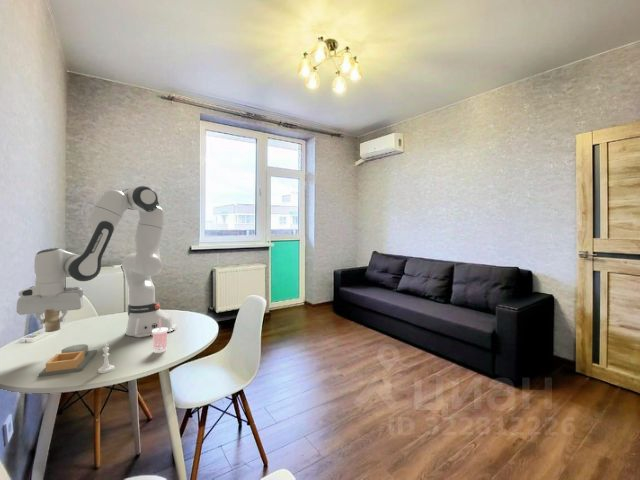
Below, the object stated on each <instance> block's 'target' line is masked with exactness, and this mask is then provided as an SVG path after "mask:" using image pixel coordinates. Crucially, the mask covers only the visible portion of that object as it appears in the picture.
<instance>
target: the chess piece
mask: <svg viewBox="0 0 640 480" xmlns="http://www.w3.org/2000/svg"><path fill="white" fill-rule="evenodd" d="M102 346H103V348H102V352H103V354H102V357H104V359H103V364H102V366H101V367H99V368H98V369H97V373H99V374H107V373H110V372H112V371H113V370H115V365H113V364H110V362H109V356H110V353H109V351H110V347H109V346H110V345H109V343H107V342H104V344H102Z"/></svg>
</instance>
